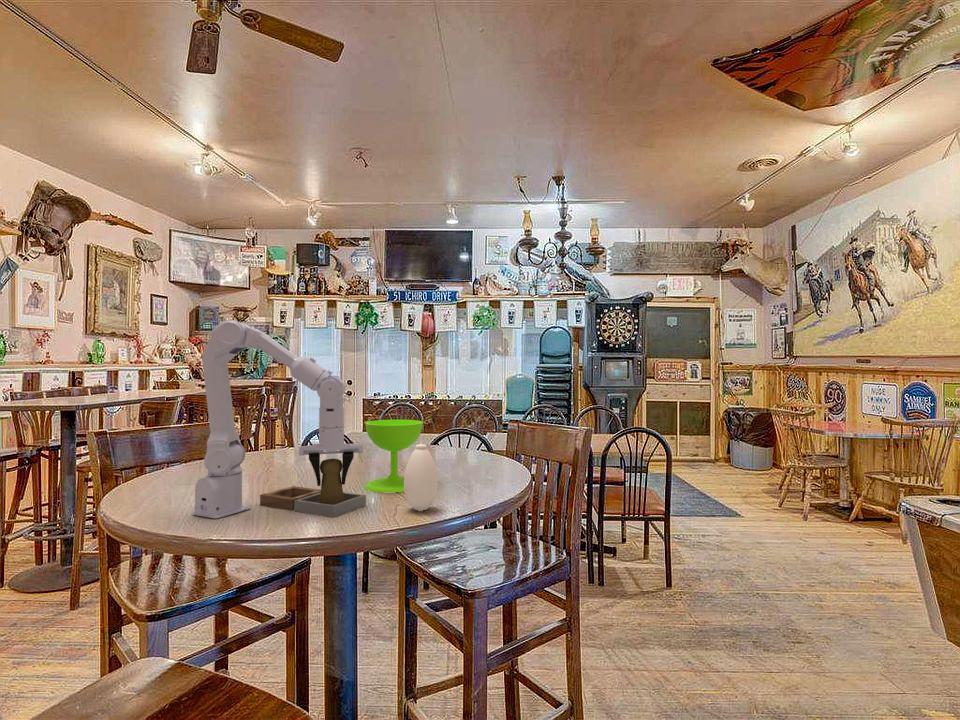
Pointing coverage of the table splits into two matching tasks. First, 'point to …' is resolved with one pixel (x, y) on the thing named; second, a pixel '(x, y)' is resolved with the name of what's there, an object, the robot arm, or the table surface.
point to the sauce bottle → (421, 478)
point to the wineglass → (392, 448)
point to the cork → (331, 482)
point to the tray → (314, 507)
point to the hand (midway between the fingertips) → (331, 484)
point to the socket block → (286, 497)
